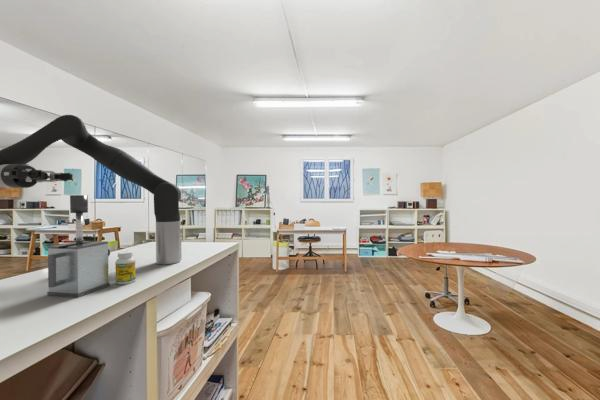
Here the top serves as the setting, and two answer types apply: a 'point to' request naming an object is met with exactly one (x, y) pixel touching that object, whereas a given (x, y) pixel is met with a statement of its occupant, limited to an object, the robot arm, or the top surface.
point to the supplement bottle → (125, 268)
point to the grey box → (77, 268)
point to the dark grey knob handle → (79, 214)
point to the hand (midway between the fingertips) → (57, 175)
